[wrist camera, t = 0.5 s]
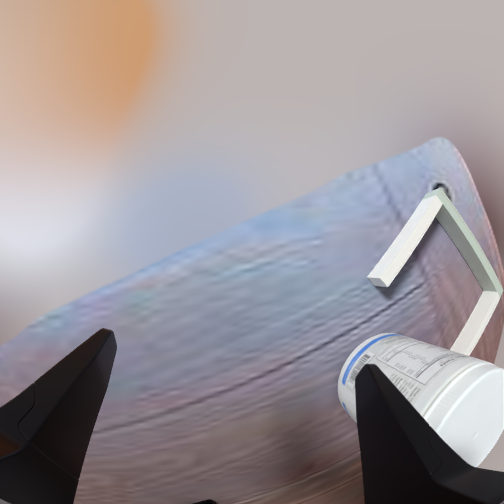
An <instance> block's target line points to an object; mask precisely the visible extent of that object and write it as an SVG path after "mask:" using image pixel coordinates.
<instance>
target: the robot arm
mask: <svg viewBox="0 0 504 504" xmlns="http://www.w3.org/2000/svg"><path fill="white" fill-rule="evenodd" d="M116 351H117V344H116V340H115V336H114V332H113V331H112V330H109V329H105V328H102V329H100V330H99V331H98V332H96V333H95V334H94V335H92V336H91V337H90V338H89V339H87V340H86V341H85V342H83V343H82V344H81V345H80V346H78V347H77V348H76V349H75V350H73V351H72V352H71V353H70V354H68V355H67V356H66V357H65V358H63V359H62V360H61V361H60V362H58V363H57V364H56V365H55V366H53V367H52V368H51V369H50V370H48V371H47V372H46V373H45V374H44V375H42V376H41V377H40V378H39V379H37V380H36V381H35V382H34V383H33V384H31V385H30V386H29V387H28V388H27V389H25V390H24V391H23V392H21V393H20V394H19V395H18V396H16V397H15V398H13V399H12V400H10V401H9V402H8V403H6V404H5V405H3V406H2V407H0V504H73V502H74V498H75V493H76V489H77V485H78V481H79V480H78V479H79V477H80V473H81V469H82V466H83V462H84V458H85V455H86V451H87V448H88V445H89V441H90V438H91V435H92V432H93V429H94V425H95V422H96V419H97V416H98V413H99V410H100V407H101V405H102V402H103V399H104V396H105V393H106V390H107V387H108V383H109V379H110V375H111V371H112V367H113V363H114V359H115V355H116ZM355 398H356V419H357V427H358V435H359V443H360V452H361V462H362V472H363V484H364V498H365V504H504V472H500V471H493V470H487V469H481V468H477V467H474V466H471V465H470V464H468V463H467V462H466V461H465V460H463V459H462V458H461V457H460V456H459V455H458V454H457V453H456V452H455V451H454V450H453V449H452V448H451V447H450V446H449V445H448V444H447V443H446V442H445V441H444V440H443V439H442V438H441V437H440V436H439V435H438V434H437V433H436V432H435V431H434V429H433V428H432V427H431V426H429V424H428V423H427V421H426V420H425V419H424V418H423V417H422V416H421V415H420V413H419V412H418V411H417V410H416V409H415V408H414V407H413V405H412V404H411V403H410V402H409V401H408V400H407V399H406V397H405V396H404V395H403V394H402V393H401V392H400V391H399V390H398V388H397V387H396V386H395V385H394V384H393V383H392V382H391V381H390V379H389V378H388V377H387V376H386V375H385V374H384V373H383V372H382V370H381V369H380V368H379V367H378V366H377V365H376V364H365V365H364V366H363V367H362V369H361V370H360V371H359V373H358V374H357V376H356V378H355ZM194 504H215V503H214V502H213V501H211V500H205V501H201V502H198V503H194Z"/></svg>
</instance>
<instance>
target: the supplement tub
mask: <svg viewBox="0 0 504 504" xmlns="http://www.w3.org/2000/svg"><path fill="white" fill-rule="evenodd" d="M365 364H376V365H377V366H378V367H379V368H380V369H381V370H382V372H383V373H384V374H385V375H386V376H387V377H388V378H389V379H390V381H391V382H392V383H393V384H394V385H395V386H396V387H397V388H398V390H399V391H400V392H401V393H402V394H403V395H404V396H405V397H406V399H407V400H408V401H409V402H410V403H411V404H412V405H413V407H414V408H415V409H416V410H417V411H418V412H419V413H420V415H421V416H422V417H423V418H424V419H425V420H426V421H427V423H428V424H429V426H431V427H432V428H433V429H434V431H435V432H436V433H437V434H438V435H439V436H440V437H441V438H442V439H443V440H444V441H445V442H446V443H447V444H448V445H449V446H450V447H451V448H452V449H453V450H454V451H455V452H456V453H457V454H458V455H459V456H460V457H461V458H462V459H463V460H465V461H466V462H467V463H468V464H470V465H471V466H474V467H477V466H478V465H479V464H480V463H481V462H482V461H483V460H484V459H485V457H486V456H487V455H488V454H489V452H490V451H491V450H492V448H493V447H494V445H495V444H496V442H497V440H498V439H499V437H500V435H501V433H502V431H503V429H504V369H502V368H499V367H497V366H495V365H494V364H492V363H489V362H486V361H483V360H480V359H477V358H474V357H471V356H467V355H464V354H460V353H457V352H454V351H451V350H447V349H444V348H441V347H438V346H435V345H431V344H428V343H425V342H422V341H419V340H416V339H412V338H409V337H406V336H403V335H400V334H396V333H382V334H379V335H376V336H373V337H371V338H369V339H367V340H366V341H364V342H363V343H361V344H360V345H359V346H358V347H357V348H356V349H355V350H354V351H353V352H352V353H351V354H350V356H349V357H348V358H347V360H346V362H345V364H344V366H343V368H342V370H341V373H340V376H339V381H338V396H339V400H340V402H341V405H342V406H343V408H344V410H345V411H346V412H347V413H348V414H349V416H350V417H351V418H352V419H353V420H354V421H355V422H356V423H357V419H356V398H355V378H356V376H357V374H358V373H359V371H360V370H361V369H362V367H363V366H364V365H365Z"/></svg>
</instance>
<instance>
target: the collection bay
mask: <svg viewBox="0 0 504 504" xmlns="http://www.w3.org/2000/svg"><path fill="white" fill-rule="evenodd" d="M435 217H436V219H437V220H438V221H439V223H440V224H441V225H442V227H443V228H444V229H445V231H446V232H447V234H448V235H449V237H450V238H451V239H452V241H453V242H454V244H455V245H456V247H457V248H458V250H459V251H460V253H461V254H462V256H463V257H464V259H465V261H466V262H467V264H468V265H469V267H470V269H471V270H472V272H473V274H474V275H475V277H476V279H477V280H478V282H479V284H480V286H481V287H482V289H483V293H482V295H481V297H480V299H479V301H478V303H477V305H476V307H475V308H474V310H473V312H472V314H471V316H470V317H469V319H468V321H467V323H466V324H465V326H464V328H463V330H462V331H461V333H460V334H459V336H458V338H457V339H456V341H455V343H454V344H453V346H452V347H451V349H450V350H451V351H454V352H457V353H460V354H464V355H467V356H469V355H470V354H471V352H472V350H473V349H474V347H475V345H476V344H477V342H478V340H479V338H480V337H481V335H482V333H483V331H484V329H485V327H486V326H487V324H488V322H489V320H490V318H491V316H492V314H493V312H494V310H495V308H496V306H497V304H498V301H499V299H500V297H501V295H502V293H503V288H502V286H501V284H500V282H499V280H498V278H497V276H496V274H495V272H494V270H493V269H492V267H491V265H490V263H489V261H488V259H487V258H486V256H485V254H484V252H483V251H482V249H481V247H480V245H479V244H478V242H477V240H476V239H475V237H474V236H473V234H472V232H471V231H470V229H469V228H468V226H467V225H466V223H465V222H464V220H463V219H462V217H461V216H460V214H459V213H458V211H457V210H456V208H455V207H454V205H453V204H452V203H451V201H450V200H449V198H448V197H447V196H446V194H445V193H444V192H443V190H442V189H441V188H438V189H436V190H433V191H431V192H428V193H426V195H425V196H424V198H423V200H422V201H421V203H420V204H419V206H418V207H417V209H416V210H415V212H414V213H413V215H412V216H411V218H410V219H409V221H408V222H407V223H406V225H405V226H404V228H403V229H402V231H401V232H400V234H399V235H398V236H397V238H396V239H395V241H394V242H393V243H392V245H391V246H390V247H389V249H388V250H387V251H386V253H385V254H384V255H383V257H382V258H381V259H380V261H379V262H378V263H377V265H376V266H375V267H374V269H373V270H372V271H371V273H370V274H369V275H368V276H367V278H368V279H369V280H370V281H371V283H372V284H373V285H374V286H381V287H388V286H389V285H390V284H391V282H392V281H393V280H394V278H395V277H396V275H397V274H398V273H399V271H400V270H401V268H402V267H403V266H404V264H405V263H406V261H407V260H408V258H409V257H410V255H411V254H412V252H413V251H414V249H415V248H416V246H417V245H418V243H419V242H420V240H421V239H422V237H423V236H424V234H425V232H426V231H427V229H428V228H429V226H430V224H431V223H432V221H433V219H434V218H435Z"/></svg>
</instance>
